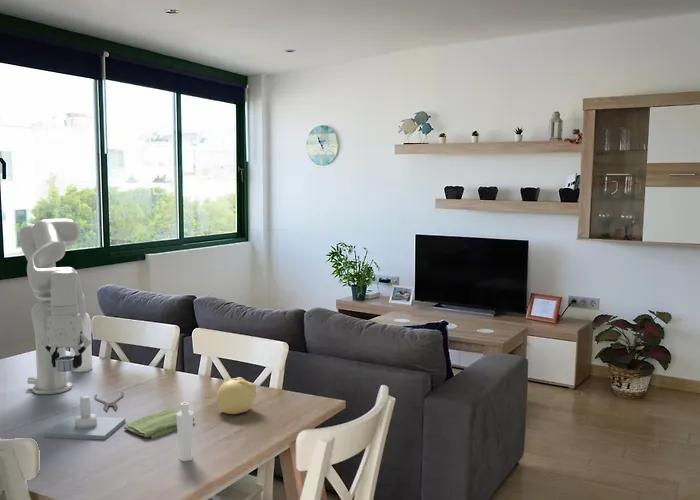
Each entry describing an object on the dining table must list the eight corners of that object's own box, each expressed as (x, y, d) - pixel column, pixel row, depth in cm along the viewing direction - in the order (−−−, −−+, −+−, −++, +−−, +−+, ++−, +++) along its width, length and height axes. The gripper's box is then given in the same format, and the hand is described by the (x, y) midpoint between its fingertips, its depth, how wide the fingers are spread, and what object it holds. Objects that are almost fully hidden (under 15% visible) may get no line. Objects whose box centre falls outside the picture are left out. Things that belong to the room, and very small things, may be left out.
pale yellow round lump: (261, 408, 214) (260, 375, 213) (239, 419, 203) (239, 386, 202) (231, 402, 219) (231, 371, 218) (209, 414, 208) (209, 381, 207)
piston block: (44, 437, 188) (42, 404, 187) (69, 419, 202) (67, 389, 201) (104, 439, 187) (103, 406, 186) (125, 421, 201) (124, 391, 200)
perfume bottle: (178, 454, 177) (177, 400, 175) (194, 454, 177) (193, 400, 176) (175, 462, 172) (174, 406, 171) (192, 461, 172) (191, 406, 171)
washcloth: (121, 431, 194) (121, 421, 194) (170, 415, 208) (170, 405, 207) (147, 442, 186) (147, 431, 186) (197, 425, 200) (197, 414, 199)
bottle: (78, 373, 251) (75, 296, 248) (66, 370, 255) (63, 294, 252) (96, 368, 258) (94, 293, 255) (84, 365, 262) (81, 291, 259)
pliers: (120, 389, 230) (136, 405, 214) (120, 392, 230) (137, 408, 214) (91, 394, 225) (106, 411, 208) (91, 396, 225) (106, 414, 209)
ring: (51, 371, 202) (51, 360, 202) (62, 365, 209) (62, 355, 208) (71, 372, 202) (71, 361, 201) (81, 366, 208) (81, 355, 208)
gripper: (31, 311, 200) (33, 369, 202) (85, 313, 199) (87, 370, 201) (44, 307, 208) (47, 362, 210) (97, 308, 206) (99, 364, 208)
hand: (67, 366), depth 205 cm, fingers closed on ring, 6 cm apart
